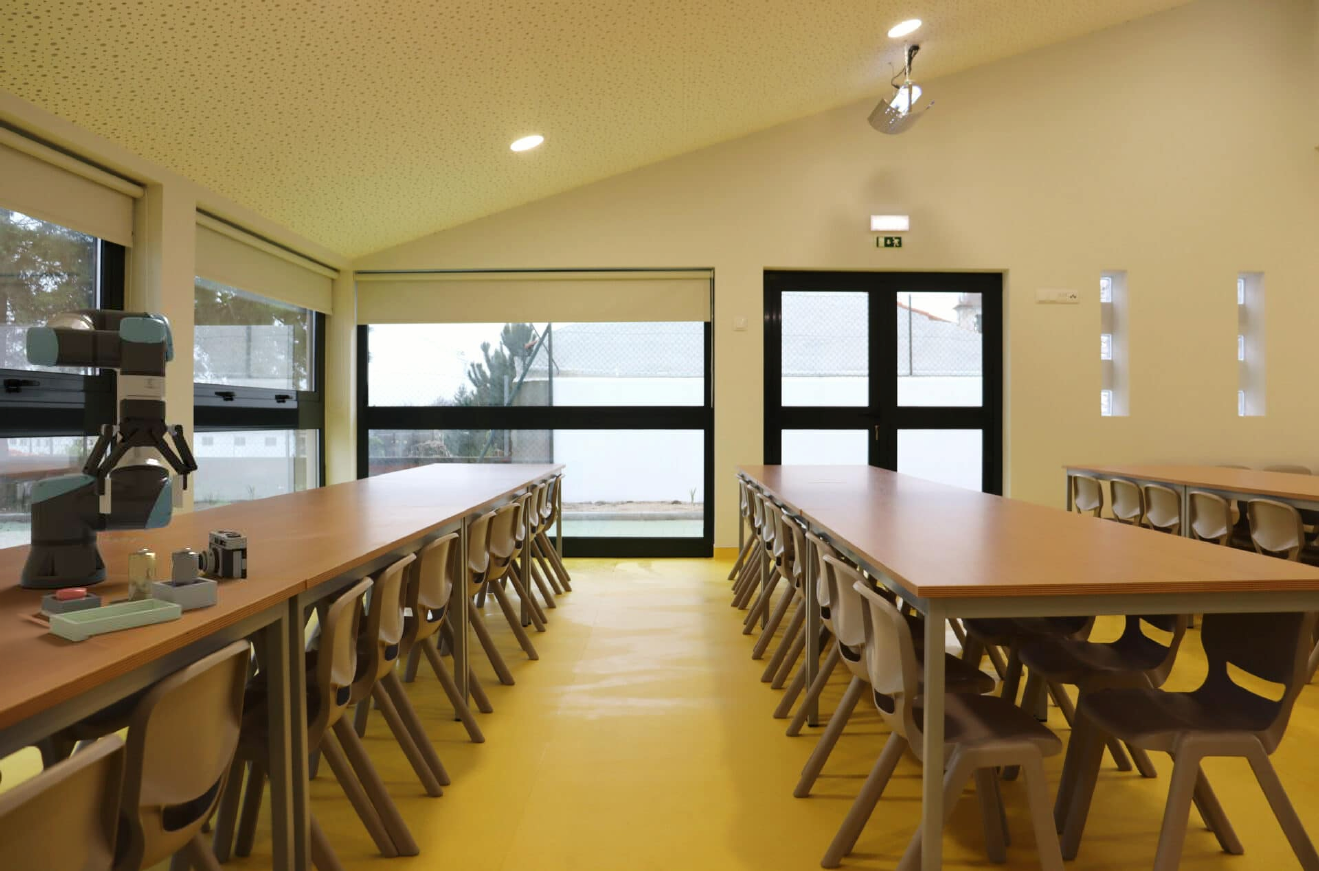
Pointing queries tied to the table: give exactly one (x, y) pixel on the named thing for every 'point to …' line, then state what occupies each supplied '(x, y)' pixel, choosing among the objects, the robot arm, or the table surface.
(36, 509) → the robot arm
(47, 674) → the table surface
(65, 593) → the button
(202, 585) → the bin
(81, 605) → the button housing
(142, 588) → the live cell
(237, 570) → the camera
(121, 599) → the empty grey frame
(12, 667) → the table surface
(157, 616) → the trough
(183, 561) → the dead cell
